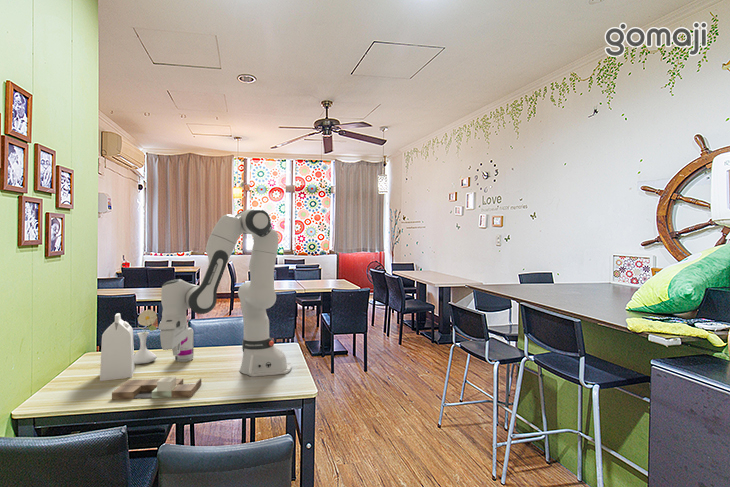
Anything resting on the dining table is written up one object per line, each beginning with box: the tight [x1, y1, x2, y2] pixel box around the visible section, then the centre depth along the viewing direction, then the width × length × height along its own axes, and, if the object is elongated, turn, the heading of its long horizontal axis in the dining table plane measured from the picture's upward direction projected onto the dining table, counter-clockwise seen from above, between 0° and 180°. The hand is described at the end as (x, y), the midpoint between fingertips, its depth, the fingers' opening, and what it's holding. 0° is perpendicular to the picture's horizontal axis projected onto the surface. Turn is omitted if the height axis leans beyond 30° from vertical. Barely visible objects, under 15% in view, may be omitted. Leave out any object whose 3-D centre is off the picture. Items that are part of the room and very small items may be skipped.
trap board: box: [111, 377, 202, 400], centre depth 161 cm, size 28×13×3 cm, turn 95°
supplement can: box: [174, 326, 194, 363], centre depth 202 cm, size 8×8×15 cm
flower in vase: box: [134, 309, 158, 365], centre depth 197 cm, size 13×11×25 cm
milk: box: [99, 312, 136, 382], centre depth 180 cm, size 12×12×26 cm
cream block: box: [157, 376, 177, 391], centre depth 158 cm, size 5×5×4 cm
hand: (176, 354), depth 168 cm, fingers closed
